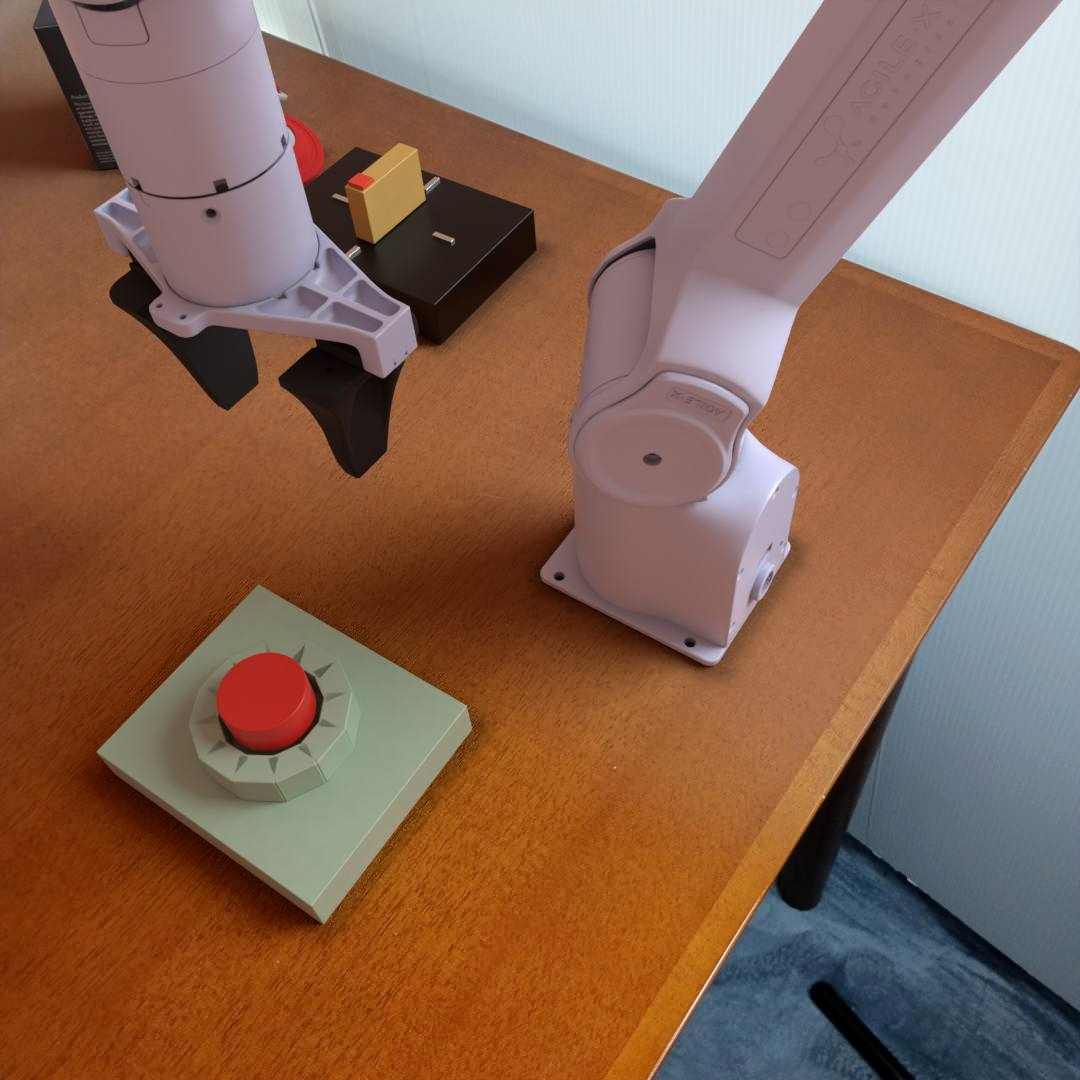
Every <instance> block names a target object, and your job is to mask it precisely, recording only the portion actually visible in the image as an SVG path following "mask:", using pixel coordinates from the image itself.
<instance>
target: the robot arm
mask: <svg viewBox="0 0 1080 1080" xmlns="http://www.w3.org/2000/svg"><path fill="white" fill-rule="evenodd" d="M1063 1H1064V0H822V2H821V4H820V5H819V7H818V8H817V9H816V11H815V13H814V15H812V17H811V19H810V20H809V22H808V23H807V24H806V26H805V28H804V29H803V31H802V32H801V34H800V35H799V37H798V38H797V40H796V41H795V43H794V44H793V45H792V47H791V49H790V50H789V52H788V53H787V55H786V56H785V58H784V59H783V61H782V62H781V63H780V65H779V66H778V68H777V69H776V71H775V73H774V74H773V76H772V77H771V78H770V80H769V82H768V83H767V84H766V86H765V87H764V89H763V90H762V92H761V94H760V95H759V96H758V98H757V99H756V101H755V102H754V104H753V105H752V107H751V109H750V110H749V112H748V113H747V114H746V116H745V117H744V119H743V120H742V122H741V123H740V125H739V127H737V129H736V131H735V132H734V134H733V135H732V137H731V138H730V140H729V141H728V143H727V144H726V146H725V147H724V149H723V151H722V152H721V153H720V154H719V156H718V158H717V159H716V161H715V162H714V163H713V165H712V167H711V168H710V169H709V171H708V172H707V174H706V176H705V177H704V179H703V180H702V182H701V183H700V185H699V186H698V187H697V189H696V190H695V192H694V193H693V195H692V196H690V197H671V198H669V199H667V200H666V201H665V202H664V203H663V205H662V206H661V208H660V210H659V211H658V212H657V214H656V215H655V217H654V218H653V220H652V221H651V222H650V223H649V224H648V225H647V226H646V227H645V228H644V229H643V230H642V231H641V232H639V233H638V234H636V235H634V236H633V237H631V238H630V239H628V240H626V241H624V242H622V243H621V244H619V245H616V246H615V247H614V248H612V249H611V250H610V251H609V252H607V253H606V254H605V255H604V256H603V257H602V258H601V260H600V261H599V262H598V263H597V264H596V266H595V268H594V270H593V272H592V273H591V276H590V278H589V281H588V289H587V296H586V300H587V307H588V316H587V325H586V331H585V338H584V339H585V340H584V347H583V353H582V354H583V355H582V362H581V370H580V377H579V384H578V386H579V387H578V393H577V399H576V403H575V405H574V406H573V409H572V411H571V415H570V419H569V420H570V422H569V431H568V436H567V443H566V445H567V453H568V457H569V459H570V462H571V476H572V477H571V478H572V493H573V494H572V495H573V496H572V497H573V511H574V512H573V514H574V516H573V517H574V526H573V528H572V529H571V531H570V532H569V533H568V535H567V536H566V537H565V538H564V540H563V541H562V542H561V543H560V544H559V546H558V547H557V549H556V550H555V551H553V553H552V554H551V556H550V557H549V558H548V559H547V560H546V562H545V564H543V566H542V567H541V569H540V571H539V573H540V574H539V575H540V580H541V582H543V583H544V584H545V585H547V586H550V587H552V588H553V589H555V590H557V591H559V592H561V593H563V594H565V595H567V596H568V597H571V598H573V599H574V600H577V601H578V602H581V603H582V604H584V605H586V606H588V607H590V608H592V609H594V610H597V611H598V612H600V613H602V614H604V615H606V616H608V617H610V618H612V619H614V620H616V621H618V622H620V623H621V624H624V625H625V626H627V627H630V628H631V629H633V630H635V631H637V632H639V633H641V634H643V635H645V636H647V637H649V638H651V639H653V640H655V641H657V642H659V643H661V644H663V645H665V646H667V647H669V648H671V649H672V650H675V651H676V652H678V653H680V654H682V655H684V656H686V657H688V658H690V659H692V660H694V661H696V662H698V663H700V664H702V665H704V666H706V667H707V666H708V667H714V666H715V665H716V666H717V664H719V662H720V661H721V660H722V658H723V657H724V655H725V654H726V653H727V650H728V649H729V647H730V646H731V645H732V643H733V641H734V640H735V638H736V636H737V635H738V634H739V632H740V630H741V629H742V627H743V625H744V624H745V622H746V621H747V619H748V618H749V617H750V614H752V611H753V610H754V608H755V607H756V605H757V604H758V603H759V602H760V601H761V600H762V599H763V598H764V596H765V595H766V593H767V592H768V589H770V586H771V584H772V582H773V580H774V577H775V576H776V574H777V573H778V571H779V570H780V568H781V566H782V564H784V562H785V560H786V558H787V557H788V555H789V554H790V551H791V543H790V542H789V540H788V539H789V535H790V530H791V525H792V520H793V515H794V512H795V511H794V510H795V505H796V502H797V501H796V500H797V496H798V491H799V486H800V480H801V479H800V478H801V476H800V475H801V474H800V470H799V468H797V466H796V465H794V464H792V463H791V462H789V461H787V460H785V459H784V458H782V457H780V456H778V455H777V454H776V453H774V452H773V451H771V450H770V449H769V448H768V447H766V446H765V445H764V444H762V443H761V442H760V441H759V440H758V438H757V437H755V436H754V434H752V432H751V431H750V430H749V429H748V427H749V425H750V424H751V423H752V422H753V420H754V419H755V418H756V417H757V416H758V415H759V414H760V412H761V411H762V410H763V409H764V408H765V407H766V405H767V403H768V401H769V399H770V397H771V396H770V395H771V393H772V391H773V387H774V384H775V381H776V378H777V375H778V373H779V369H780V366H781V362H782V359H783V357H784V354H785V350H786V346H787V343H788V341H789V337H790V334H791V331H792V327H793V325H794V322H795V319H796V317H797V314H798V311H799V309H800V307H801V306H802V305H803V303H804V302H805V301H806V300H807V299H808V297H810V295H811V294H812V293H813V292H814V291H815V289H816V288H817V287H818V286H819V285H820V284H821V282H822V281H823V280H824V279H825V278H826V277H827V276H828V275H829V274H830V272H831V271H832V270H833V268H834V267H835V266H836V265H837V264H838V262H840V260H841V259H842V258H843V257H844V256H845V255H846V254H847V252H848V251H849V250H850V249H851V248H852V246H853V245H854V244H855V243H856V241H858V240H859V238H860V237H862V234H864V232H865V231H867V229H868V228H869V227H870V226H871V224H872V223H873V222H874V221H875V219H876V218H877V217H878V216H879V215H880V213H882V212H883V210H884V209H885V208H886V207H887V206H888V205H889V203H890V202H891V201H892V200H893V199H894V197H896V196H897V194H898V193H899V192H900V191H901V189H903V187H904V186H905V185H906V183H908V181H909V180H910V179H911V178H912V177H913V176H914V174H915V173H916V172H917V171H918V169H919V168H920V167H921V166H922V165H923V164H924V162H925V161H926V160H927V159H928V158H929V157H930V156H931V154H932V153H933V152H934V151H935V150H936V149H937V148H938V146H939V145H940V144H941V143H942V142H943V141H944V139H945V138H946V137H947V136H948V135H949V134H950V132H951V131H952V130H953V129H954V128H955V126H956V125H957V124H958V123H959V122H960V121H961V119H962V118H963V117H964V116H965V115H966V114H967V113H968V112H969V110H970V109H971V108H972V107H973V105H975V103H976V102H977V101H978V100H979V99H980V97H982V95H983V94H984V92H986V91H987V90H988V88H989V87H990V86H991V85H992V84H993V82H994V81H995V80H996V79H997V77H998V76H999V75H1000V74H1001V73H1002V72H1003V70H1004V69H1005V68H1006V67H1007V66H1008V65H1009V63H1011V61H1012V60H1013V59H1014V58H1015V57H1016V55H1017V54H1018V53H1019V52H1020V51H1021V50H1022V49H1023V47H1024V46H1025V45H1026V44H1027V43H1028V41H1029V40H1030V39H1031V38H1032V37H1033V36H1034V34H1035V33H1036V32H1037V31H1038V30H1039V29H1040V27H1041V26H1042V25H1043V24H1044V23H1045V21H1047V19H1048V18H1049V17H1050V16H1051V15H1052V14H1053V12H1054V11H1056V9H1057V8H1058V7H1059V5H1060V4H1061V3H1062V2H1063ZM48 2H49V4H50V6H51V9H52V11H53V14H54V16H55V18H56V21H57V23H58V25H59V28H60V30H61V32H62V35H63V37H64V40H65V42H66V44H67V47H68V49H69V51H70V54H71V56H72V59H73V61H74V63H75V65H76V67H77V70H78V72H79V75H80V77H81V79H82V82H83V84H84V86H85V89H86V91H87V93H88V96H89V98H90V101H91V103H92V105H93V108H94V110H95V112H96V115H97V117H98V119H99V122H100V124H101V127H102V129H103V131H104V134H105V136H106V138H107V141H108V143H109V146H110V148H111V150H112V153H113V155H114V157H115V160H116V162H117V164H118V167H119V168H118V169H119V172H120V174H121V177H122V178H123V180H124V183H125V185H126V187H124V188H123V189H122V190H120V191H119V192H118V193H117V194H115V195H113V196H112V197H111V198H109V199H107V200H106V201H105V202H103V203H101V205H99V206H97V207H96V208H95V209H93V211H92V214H93V216H94V218H95V220H96V222H97V225H98V226H99V229H100V231H101V233H102V235H103V237H104V239H105V242H106V244H107V246H108V249H109V251H111V252H113V253H115V254H117V255H119V256H121V257H124V258H128V257H130V259H131V261H130V262H129V263H128V266H129V268H130V269H129V270H128V271H127V272H126V273H125V274H123V275H122V276H120V277H119V278H118V279H116V280H115V281H114V282H113V283H112V285H111V286H110V288H109V292H108V294H109V296H108V297H109V298H110V301H111V303H112V305H114V306H116V307H117V308H119V310H122V311H124V313H126V314H128V315H129V316H131V317H132V318H134V320H136V321H137V322H139V323H140V324H141V325H142V326H144V328H146V329H147V330H148V331H149V332H150V333H152V334H153V335H154V336H155V337H156V338H157V339H158V340H159V341H160V342H161V343H162V344H163V345H164V346H165V347H166V348H167V349H168V350H169V351H170V352H171V353H172V355H174V356H175V357H176V359H177V360H178V362H180V364H181V365H182V366H183V367H184V369H185V370H187V372H188V373H189V374H190V376H191V377H192V378H193V379H194V380H195V382H196V384H198V386H199V388H201V390H203V392H204V393H205V394H206V395H207V396H208V398H209V399H211V401H213V403H214V404H215V405H216V406H217V407H219V408H221V409H223V410H225V411H226V412H229V411H230V410H231V409H232V408H233V407H234V406H236V405H237V404H238V403H239V402H240V401H241V400H242V399H243V398H244V397H246V396H247V395H248V394H249V393H250V392H251V391H253V390H254V389H255V388H256V387H257V386H258V385H259V370H258V363H257V359H256V355H255V351H254V347H253V343H252V340H251V335H250V333H249V331H253V332H262V333H268V334H275V335H277V334H278V335H283V336H284V335H285V336H292V337H300V338H308V339H313V340H314V342H315V344H316V346H315V347H314V346H312V347H311V348H309V350H307V351H306V352H305V353H304V354H303V355H302V356H301V357H300V358H299V359H298V360H296V361H295V362H294V363H293V364H292V365H290V366H289V367H288V368H287V369H286V370H285V371H284V372H282V374H280V376H278V377H277V381H278V383H279V386H280V387H281V388H282V389H284V390H285V391H287V392H288V393H290V395H292V396H294V397H295V398H296V400H298V401H299V402H300V403H301V404H302V405H303V406H304V407H305V408H306V409H307V410H308V412H309V413H310V414H311V415H312V417H313V418H314V420H315V421H316V422H317V424H318V426H319V427H320V429H321V431H322V433H323V434H324V437H325V439H326V441H327V443H328V446H329V448H330V450H331V453H332V455H333V457H334V460H335V461H336V462H337V464H338V466H339V467H340V468H341V469H342V470H343V472H344V473H345V474H347V475H349V476H351V477H353V478H355V479H361V478H362V477H363V476H364V475H365V474H366V473H367V472H368V471H369V470H370V469H371V468H372V467H373V466H374V465H375V464H376V463H377V462H378V461H379V460H380V459H381V458H382V457H383V456H384V455H385V454H387V452H388V443H389V441H388V440H389V430H390V418H391V412H392V405H393V400H394V394H395V391H396V388H397V384H398V381H399V378H400V375H401V372H402V370H403V367H404V365H405V363H406V361H407V358H408V357H409V356H410V355H411V354H412V353H413V352H414V351H415V350H416V349H417V348H418V340H417V338H418V336H419V335H418V334H419V329H418V324H417V319H416V317H415V315H414V314H413V313H412V312H411V311H410V307H409V306H408V305H405V304H403V303H401V302H399V301H397V300H395V299H394V298H392V297H390V296H389V295H387V294H386V293H384V292H383V291H382V290H381V289H380V288H378V287H377V286H376V285H375V284H374V283H373V282H372V281H371V280H370V279H369V278H368V277H367V276H366V275H365V274H364V273H363V272H362V271H361V270H360V269H359V268H358V267H357V266H356V265H355V264H354V263H353V262H352V261H351V260H350V259H349V258H348V257H347V256H346V255H345V254H344V253H343V252H342V251H341V250H340V249H339V248H338V247H337V246H336V245H335V244H334V243H333V242H332V241H331V240H330V239H329V238H328V237H327V236H326V235H325V234H324V233H323V232H322V231H321V230H320V229H319V228H318V227H317V226H316V225H315V224H314V223H313V220H312V217H311V213H310V209H309V206H308V202H307V198H306V195H305V191H304V187H303V184H302V180H301V176H300V172H299V169H298V165H297V161H296V157H295V154H294V150H293V146H292V143H291V139H290V135H289V132H288V129H287V125H286V122H285V118H284V114H283V113H284V110H283V107H282V102H281V100H280V99H279V96H278V92H277V88H276V85H275V84H276V81H275V78H274V74H273V70H272V66H271V62H270V59H269V56H268V52H267V49H266V48H267V47H266V44H265V41H264V38H263V37H264V36H263V33H262V30H261V25H260V23H259V22H260V21H259V19H258V16H257V11H256V8H255V4H254V0H48ZM559 577H561V578H563V579H562V580H557V578H559ZM687 643H692V644H694V645H693V646H691V647H690V646H687V645H686V644H687Z"/></svg>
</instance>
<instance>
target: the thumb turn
mask: <svg viewBox="0 0 1080 1080" xmlns="http://www.w3.org/2000/svg"><path fill="white" fill-rule="evenodd" d="M381 156H382V157H381V158H380V159H378V160H377V161H376V162H375V163H373V164H372V165H371V166H370V167H368V168H367V169H366V170H365V171H363V172H362V173H358V174H357V175H355V176H354V177H353V178H352V179H350V180H349V181H348V184H347V185H346V186H345V190H346V194H347V198H348V202H349V207H350V211H351V215H352V219H353V224H354V228H355V232H356V236H357V237H358V238H360V239H363V240H365V241H368V242H370V243H373V244H375V243H376V242H377V241H378V240H380V239H381V238H382V237H383V236H384V235H385V234H387V233H388V232H389V231H390V230H391V229H392V228H394V227H395V226H396V225H397V224H398V223H399V222H401V221H402V220H403V219H404V218H405V217H406V216H408V215H409V214H410V213H411V212H412V211H413V210H415V209H416V208H417V207H418V206H419V205H420V204H422V203H423V202H424V201H425V200H426V198H425V192H424V186H423V180H422V174H421V170H422V168H421V162H420V157H419V150H418V149H417V148H416V147H412V146H410V145H408V144H404V143H403V142H402V143H401V142H398V143H397V144H396V145H394V146H393V147H391V149H389V150H388V151H387V152H386V153H384V154H383V155H381Z"/></svg>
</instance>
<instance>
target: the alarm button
mask: <svg viewBox="0 0 1080 1080" xmlns="http://www.w3.org/2000/svg"><path fill="white" fill-rule="evenodd" d="M216 702H217V708H218V712H219V714H220V716H221V718H222V719H223V721H224V722H225V724H226V726H227V727H228V729H229V730H230V732H231V734H232V735H233V737H234V738H235V739H236V740H237V742H239V743H240V744H241V745H243V746H244V747H246V748H249V749H251V750H255V751H274V750H278V749H282V748H284V747H287V746H289V745H290V744H292V743H294V742H295V741H297V740H298V739H299V738H300V737H301V736H302V735H303V734H304V733H305V732H306V731H307V730H308V728H309V727H310V725H311V723H312V721H313V719H314V716H315V713H316V697H315V694H314V691H313V689H312V687H311V685H310V683H309V680H308V678H307V676H306V674H305V672H304V670H303V668H302V667H301V665H300V664H299V663H298V662H297V661H295V660H294V659H293V658H291V657H289V656H286V655H284V654H280V653H273V652H268V653H260V654H256V655H252V656H250V657H247V658H245V659H243V660H242V661H240V662H239V663H237V664H236V665H235V666H233V667H232V668H231V669H230V670H229V671H228V672H227V674H226V675H225V676H224V678H223V679H222V681H221V683H220V685H219V688H218V692H217V700H216Z"/></svg>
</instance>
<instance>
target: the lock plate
mask: <svg viewBox="0 0 1080 1080" xmlns="http://www.w3.org/2000/svg"><path fill="white" fill-rule="evenodd" d="M382 156H383V155H382V154H379V153H375V152H373V151H369V150H367V149H365V148H361V147H359V146H354V147H353V148H352V149H350V150H349V151H348V152H347V153H345V155H343V156H342V157H341V158H339V159H338V160H337V161H335V162H334V163H332V165H330V166H329V167H328V168H327V169H326V170H323V171H322V174H320V175H319V176H318V177H317V178H315V179H314V180H313V181H312V182H310V183H309V184H308V185H307V186H305V187H304V191H305V195H306V198H307V202H308V206H309V209H310V213H311V217H312V220H313V223H314V224H315V225H316V226H317V227H318V228H319V229H320V230H321V231H322V232H323V233H324V234H325V235H326V236H327V237H328V238H329V239H330V240H331V241H332V242H333V243H334V244H335V245H336V246H337V247H338V248H339V249H340V250H341V251H342V252H343V253H344V254H345V255H346V256H347V257H348V258H349V259H350V260H351V261H352V262H353V263H354V264H355V265H356V266H357V267H358V268H359V269H360V270H361V271H362V272H363V273H364V274H365V275H366V276H367V277H368V278H369V279H370V280H371V281H372V282H373V283H374V284H375V285H376V286H377V287H378V288H380V289H381V290H382V291H383V292H384V293H386V294H387V295H389V296H390V297H392V298H394V299H395V300H397V301H399V302H401V303H403V304H405V305H408V306H409V307H410V311H411V312H412V313H413V314H414V315H415V317H416V319H417V324H418V329H419V334H418V336H420V337H422V338H425V339H427V340H429V341H432V342H434V343H436V344H438V345H443V344H444V343H445V342H446V341H447V340H448V339H449V338H450V337H451V336H452V335H453V334H454V333H455V332H456V331H457V330H458V329H459V328H460V327H461V326H462V325H463V324H464V323H465V322H466V321H467V320H468V319H469V318H470V317H471V316H472V315H473V314H474V313H475V312H476V311H477V310H478V309H479V308H480V307H481V306H482V305H483V304H484V303H485V302H486V301H487V300H488V299H489V298H490V297H491V296H492V295H493V294H494V293H495V292H496V291H497V290H498V289H499V288H500V287H501V286H502V285H503V284H504V283H505V282H506V281H507V280H508V279H510V277H512V275H514V273H515V272H516V271H517V270H519V269H520V267H521V266H522V265H523V264H524V263H525V262H526V261H527V260H528V259H530V257H531V256H533V254H534V253H535V252H536V251H537V250H538V249H537V248H538V247H537V235H536V234H537V233H536V222H535V221H536V219H535V210H534V209H533V208H530V207H527V206H525V205H523V204H519V203H516V202H513V201H511V200H508V199H505V198H502V197H499V196H497V195H493V194H491V193H488V192H486V191H483V190H480V189H477V188H474V187H471V186H468V185H465V184H463V183H460V182H458V181H455V180H451V179H449V178H446V177H443V176H440V175H437V174H435V173H432V172H429V171H426V170H423V169H421V174H422V180H423V186H424V192H425V198H426V200H425V201H424V202H423V203H422V204H420V205H419V206H418V207H417V208H416V209H415V210H413V211H412V212H411V213H410V214H409V215H408V216H406V217H405V218H404V219H403V220H402V221H401V222H399V223H398V224H397V225H396V226H395V227H394V228H392V229H391V230H390V231H389V232H388V233H387V234H385V235H384V236H383V237H382V238H381V239H380V240H378V241H377V242H376V243H375V244H373V243H370V242H368V241H365V240H363V239H360V238H358V237H357V236H356V232H355V228H354V224H353V219H352V215H351V211H350V207H349V202H348V198H347V194H346V190H345V186H346V185H347V184H348V181H349V180H350V179H352V178H353V177H354V176H355V175H357V174H358V173H362V172H363V171H365V170H366V169H367V168H368V167H370V166H371V165H372V164H373V163H375V162H376V161H377V160H378V159H380V158H381V157H382Z"/></svg>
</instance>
